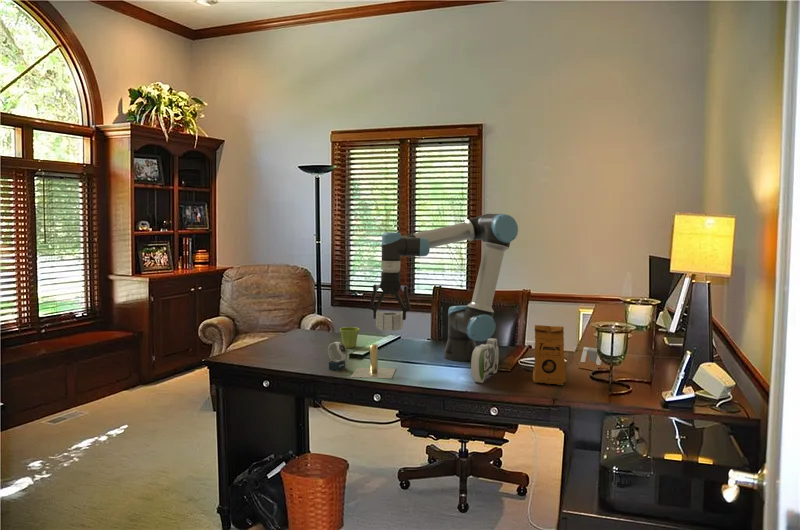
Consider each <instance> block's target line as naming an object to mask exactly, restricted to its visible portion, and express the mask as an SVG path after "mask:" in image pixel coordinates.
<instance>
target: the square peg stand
mask: <svg viewBox="0 0 800 530" xmlns="http://www.w3.org/2000/svg"><path fill="white" fill-rule="evenodd" d="M378 345H379V344H370V345H369V346H370V347H369V361H370V362H369V367H356V369H355V370H354V372H353V373H352V374H351V376H350V378H360V377H362V378H365V379H393V378H394V377H393V376H394V374H395V372H396V370H397V369H396V368H385V367H384V368H383V367H382V368H381V367H378V364H379V361H378V360H379V359H378V358H379V357H378V353H379V348H378Z"/></svg>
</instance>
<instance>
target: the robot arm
mask: <svg viewBox="0 0 800 530" xmlns="http://www.w3.org/2000/svg"><path fill="white" fill-rule="evenodd" d="M518 232H519V226H518V222H517V221H516V219H515V218H514V217H513V216H511V215H510V214H506V213H485V214H481V215H478V216H475V217H471V218H468V219H465V220H464V221H463V222H461V223H455V224H451V225H448V226H447V225H446V226H442V227H438V228H434V229H429V230H428V229H427V230H424V231H420V232H415V233H411V234H406V235H402V233H400V232H391V231H390V232H387V231H386V232H383V233H382V235H381V236H382V237H381V263H380V264H381V265H380V266H381V268H380V270H381V273H380V284H375V283H374V284H373V286H372V295H371V299H370V302H369V306H368V309H369V310H372V311H373V312H372V313H373V315H372V316H373V318H372V319H374V320H375V328H377V329H378V314H379V313H380V310H378V308H379V307H380V304H381V303H382V301H383V299H384V298H385V296H388V295H389V296H394V297H395V298H396V301H397V303H398V305H399V307H400V309H401V312H400V313H401V329H403V328H404V321H406V319H407V312H409V311H411V303H410V298H409V294H408V285H402V284H401V272H400V271H401V257H418V258H420V257H427V256H428V255H429V254H430V250H431V248H436V247H440V246H444V245H450V244H453V243H454V244H455V243H459V242H463V241H469V242H472V241H481V244H482V245H483V247H484V248H483V253H482V256H481V260H480V264H479V267H478V268H479V269H478V274H477V278H476V282H475V286H474V289H473V294H472V299H471V302H470V303H468V304H467V305H453V306H450V307H449V308H448V313H447V342H446V344H445V348H444V350H443V358H445V359H447V360H451V361H459V362H465V361H466V362H467V361H470V362H471V358H472V353H473V350H474V349H475V347H477V345H476V342H485V341H487V339H489V338H492V336H493V335H494V333H495V330H496V321H495V319H494V318H493V317H494V313H495V311H494V309H493V307H492V306H493V302H494V297H495V294H496V289H497V285H498V280H499V276H500V272H501V267H502V263H503V259H504V255H505V252H506V251H507V250H509V249H510V245H511V243H512V242H513V241H514V240H516V238H517V236H518ZM378 290H381V291H382V292H381V294H380V296H379V298H378V300H377V302H376V303H375V300H376V296H377V292H378ZM399 290H401V291H402V292H403V297H404V301H405V304H404V302H403V300H402V298H401V296H400V294H399ZM374 304H375V305H374Z"/></svg>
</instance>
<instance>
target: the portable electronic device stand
mask: <svg viewBox="0 0 800 530" xmlns="http://www.w3.org/2000/svg"><path fill="white" fill-rule="evenodd" d="M597 349H598V348H595V347H588V346H583V350H582V352H581V358H580V362H585V363H586V359H587V357H588V360H589V362H590V361H593V362H596V364H597V365H601V366H602V364H601V363H602V360H600V358H599V356H598V354H597ZM587 355H588V356H587Z"/></svg>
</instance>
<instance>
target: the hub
mask: <svg viewBox="0 0 800 530" xmlns="http://www.w3.org/2000/svg"><path fill="white" fill-rule="evenodd" d="M377 330H380V331H385V332H386V331H389V332H390V331H391V332H394V331H395V332H396V331H400V330H401V312H398V311H397V312H395V311H384V312H379V314H378V328H377Z"/></svg>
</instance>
